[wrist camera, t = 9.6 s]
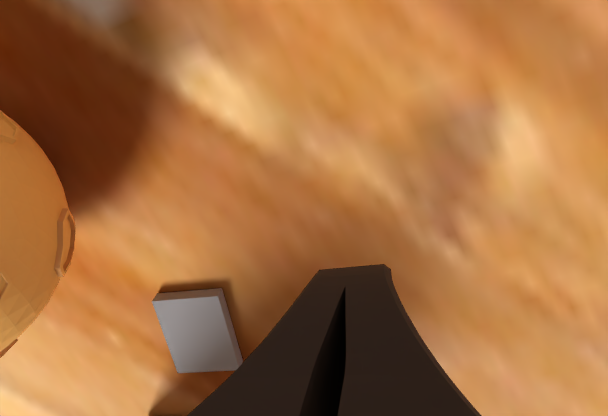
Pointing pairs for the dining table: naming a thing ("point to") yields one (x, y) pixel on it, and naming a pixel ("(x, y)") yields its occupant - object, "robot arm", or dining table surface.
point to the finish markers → (198, 330)
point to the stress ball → (29, 231)
